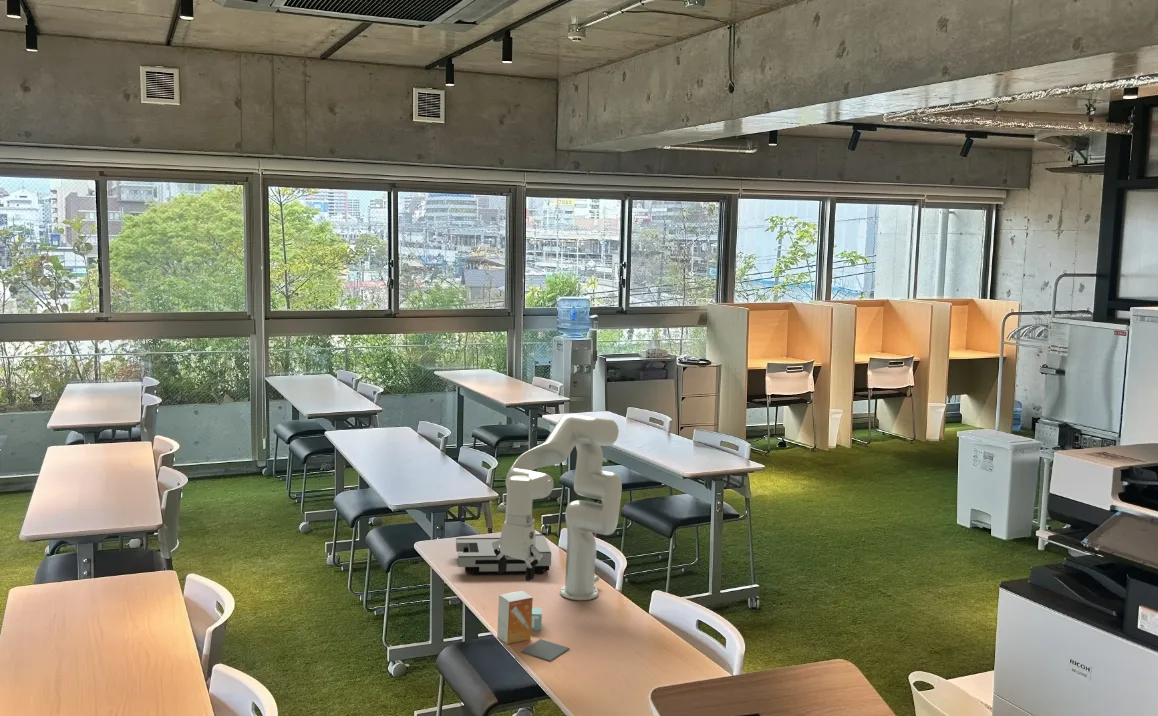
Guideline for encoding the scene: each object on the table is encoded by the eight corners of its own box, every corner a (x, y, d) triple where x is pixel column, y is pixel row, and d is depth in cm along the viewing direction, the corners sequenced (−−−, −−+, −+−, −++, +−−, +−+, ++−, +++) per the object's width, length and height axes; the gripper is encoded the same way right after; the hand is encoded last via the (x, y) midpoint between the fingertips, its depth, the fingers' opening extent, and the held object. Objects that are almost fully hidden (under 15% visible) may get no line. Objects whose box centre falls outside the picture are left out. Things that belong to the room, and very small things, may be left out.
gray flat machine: (455, 556, 349) (456, 534, 348) (542, 555, 355) (543, 534, 354) (458, 577, 329) (458, 554, 328) (550, 575, 335) (551, 553, 334)
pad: (540, 640, 281) (540, 638, 281) (569, 649, 276) (569, 647, 276) (520, 652, 273) (520, 650, 272) (550, 661, 267) (550, 660, 267)
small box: (507, 645, 277) (508, 601, 275) (496, 636, 282) (498, 594, 280) (531, 639, 281) (533, 597, 280) (520, 631, 287) (522, 589, 285)
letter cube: (524, 622, 293) (525, 607, 293) (541, 623, 293) (541, 607, 293) (524, 629, 288) (525, 613, 287) (541, 630, 288) (541, 614, 288)
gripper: (550, 521, 276) (547, 579, 278) (502, 510, 284) (499, 566, 286) (536, 527, 269) (533, 586, 271) (486, 515, 278) (484, 572, 280)
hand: (515, 576), depth 279 cm, fingers open, 9 cm apart
